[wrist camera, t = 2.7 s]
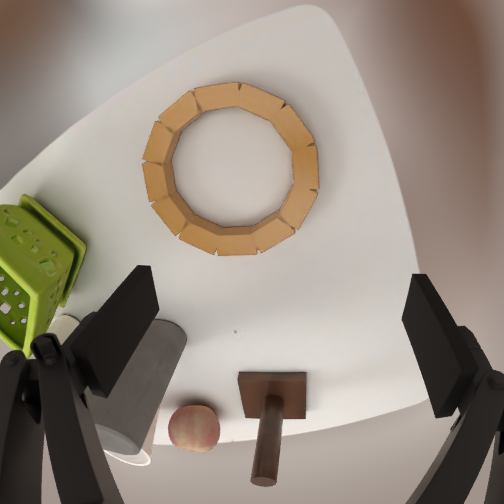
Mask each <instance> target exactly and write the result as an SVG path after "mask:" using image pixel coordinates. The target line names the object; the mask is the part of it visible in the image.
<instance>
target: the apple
mask: <svg viewBox="0 0 504 504" xmlns="http://www.w3.org/2000/svg"><path fill="white" fill-rule="evenodd" d="M168 433H169V437H170V440H171V442H172V443H173V444H174V445H175V446H176V447H178V448H181V449H185V450H188V451H191V452H198V453H205V452H208V451H210V450H211V449H213V448H214V447H215V446H216V444H217V442H218V440H219V436H220V425H219V421H218V419H217V416H216V415H215V413H214V412H213V411H212V410H211V409H210V408H208V407H206V406H200V405H192V406H185V407H182V408H179V409H177V410H176V411H175V412H174V413H173V415H172V417H171V419H170V421H169V425H168Z"/></svg>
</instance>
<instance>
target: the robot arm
mask: <svg viewBox="0 0 504 504" xmlns="http://www.w3.org/2000/svg"><path fill="white" fill-rule="evenodd" d="M158 311H159V305H158V301H157V296H156V291H155V286H154V281H153V276H152V271H151V266H145V265H137V266H136V268H135V269H134V270H133V271H132V272H131V273H130V274H129V275H128V277H127V278H126V279H125V280H124V281H123V282H122V283H121V285H120V286H119V287H118V288H117V289H116V290H115V292H114V293H113V294H112V295H111V296H110V297H109V299H108V300H107V301H106V302H105V303H104V305H103V306H102V307H101V308H100V309H99V311H98V312H94V311H93V312H92V313H90V314H89V315H87V316H86V317H84V318H83V320H82V321H81V322H80V323H79V326H77V327H76V328H75V329H74V331H73V332H72V333H71V334H70V335H69V336H68V338H67V339H66V340H65V341H64V343H63V344H62V345H61V344H60V342H59V340H58V338H57V335H55V334H54V333H43V334H41V335H38V336H37V337H36V338H34V339H33V341H32V342H31V344H30V349H31V351H32V353H33V354H34V356H35V358H36V359H27V358H26V356H25V354H24V352H23V351H21V350H13V351H10V352H8V353H7V354H6V355H5V356H4V357H3V359H2V360H1V363H0V504H41V482H42V459H43V445H44V433H45V434H46V440H47V445H48V451H49V455H50V460H51V465H52V470H53V474H54V478H55V482H56V486H57V490H58V494H59V497H60V501H61V504H124V502H123V499H122V497H121V495H120V493H119V490H118V488H117V485H116V483H115V480H114V478H113V476H112V473H111V470H110V468H109V465H108V463H107V460H106V457H105V454H104V451H103V449H102V446H101V443H100V440H99V437H98V434H97V431H96V427H95V424H94V421H93V418H92V414H91V411H90V407H89V404H88V400H87V396H86V395H85V393H84V391H85V389H86V388H87V386H88V387H89V389H90V391H91V393H92V395H95V396H99V397H103V398H108V396H109V395H110V393H111V391H112V389H113V388H114V386H115V384H116V382H117V381H118V379H119V377H120V375H121V374H122V372H123V370H124V368H125V367H126V365H127V363H128V362H129V360H130V358H131V356H132V355H133V353H134V351H135V350H136V348H137V346H138V345H139V343H140V341H141V340H142V338H143V336H144V335H145V333H146V331H147V330H148V328H149V326H150V325H151V323H152V321H153V320H154V318H155V316H156V315H157V313H158ZM402 322H403V324H404V327H405V329H406V332H407V335H408V337H409V340H410V343H411V345H412V348H413V351H414V354H415V356H416V359H417V362H418V365H419V368H420V371H421V374H422V377H423V380H424V383H425V386H426V389H427V392H428V395H429V398H430V402H431V405H432V408H433V411H434V415H435V418H442V417H448V416H452V415H453V413H454V412H455V410H456V408H457V407H458V409H459V412H460V415H459V417H458V418H457V420H456V421H455V423H454V424H453V426H452V427H451V429H450V430H451V432H450V434H449V436H448V437H447V439H446V441H445V443H444V445H443V446H442V448H441V450H440V452H439V454H438V455H437V457H436V458H435V460H434V462H433V463H432V465H431V466H430V468H429V470H428V471H427V473H426V475H425V476H424V477H423V479H422V481H421V482H420V484H419V485H418V487H417V488H416V490H415V491H414V492H413V494H412V495H411V497H410V498H409V500H408V501H407V502H406V504H464V502H465V500H466V498H467V496H468V494H469V492H470V490H471V488H472V486H473V484H474V482H475V480H476V478H477V476H478V474H479V472H480V469H481V467H482V465H483V463H484V460H485V458H486V456H487V453H488V451H489V448H490V446H491V443H492V441H493V438H494V435H495V443H494V451H493V459H492V465H491V471H490V477H489V482H488V487H487V492H486V497H485V501H484V504H504V374H503V373H501V372H499V371H496V370H493V369H492V367H491V365H490V363H489V361H488V359H487V357H486V356H485V354H484V352H483V350H482V349H481V347H480V345H479V343H478V342H477V340H476V338H475V336H474V334H473V333H472V332H471V331H470V330H469V329H468V328H467V327H466V326H457V325H456V323H455V321H454V319H453V318H452V316H451V314H450V313H449V311H448V309H447V307H446V306H445V304H444V302H443V301H442V299H441V297H440V296H439V294H438V292H437V291H436V289H435V288H434V286H433V284H432V283H431V281H430V280H429V278H428V276H427V275H426V274H412V278H411V283H410V287H409V291H408V296H407V300H406V304H405V308H404V312H403V316H402ZM495 433H496V434H495Z"/></svg>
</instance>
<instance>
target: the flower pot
mask: <svg viewBox="0 0 504 504" xmlns="http://www.w3.org/2000/svg"><path fill="white" fill-rule="evenodd" d="M85 252H86V245H85V244H84V243H83V242H82V241H81V240H80V239H79V238H78V237H77V236H75V235H74V234H73V233H72V232H71V231H70V230H69V229H67V228H66V227H65V226H64V225H63V224H62V223H61V222H59V221H58V220H57V219H56V218H55V217H54V216H52V215H51V214H50V213H49V212H48V211H47V210H46V209H44V208H43V207H42V206H41V205H40V204H39V203H38V202H36V201H35V200H34V199H33V198H31V197H30V196H28V195H26V194H23V195H22V196H21V198H20V201H19V205H18V206H15V205H0V277H4V280H3V281H0V306H1V305H2V304H3V303H6V304H7V305H8V306H10V307H11V309H10V311H9V312H8V313H7V314H4V313H3V312H2V311H1V310H0V338H1V339H2V340H3V341H4V342H5V343H6V344H7V345H8V346H9V347H10V348H12V349H13V350H21V351H23V352H24V354H25V356H26V358H27V359H29V358H30V357H31V355H32V354H33V353H32V351H31V349H30V344H31V342H32V341H33V339H34V338H36V337H37V336H38V335H41V334H43V333H46V332H47V330H48V328H49V326H50V324H51V321H52V319H53V317H54V314H55V312H56V309H57V307H58V305H59V306H61V307H64V306H65V304H66V302H67V299H68V297H69V294H70V292H71V289H72V287H73V284H74V281H75V279H76V276H77V274H78V271H79V269H80V266H81V263H82V260H83V258H84V255H85ZM4 289H7V290H8V293H7V294H6V295H5V296H3V295H2V294H1V292H2V291H3V290H4ZM16 291H18V292H19V294H18V295H17V296H16V295H14V293H15V292H16ZM19 304H23V305H24V306H25V307H24V308H19V306H18V305H19ZM22 319H27V321H26V323H21V320H22ZM11 322H15V324H11Z"/></svg>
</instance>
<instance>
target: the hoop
mask: <svg viewBox="0 0 504 504" xmlns="http://www.w3.org/2000/svg"><path fill="white" fill-rule="evenodd" d="M285 102H286V101H285V100H283V99H281V98H278V97H276V96H274V95H272V94H269V93H267V92H265V91H262V90H260V89H258V88H255V87H253V86H250V85H248V84H246V83H242V84H241V83H239V82H233V83H225V84H218V85H212V86H205V87H199V88H194V91H188V92H187V93H186V94H185V95H184V96H182V97H181V98H180V99H179V100H177V101H176V102H175V103H174V104H173V105H172V106H170V107H169V108H168V109H167V110H166V111H165V112H163V113H162V114H161V115H160V116H159V117H158V118H159V120H160V121H155V123H154V126H153V129H152V132H151V135H150V138H149V140H148V143H147V146H146V149H145V152H144V155H143V159H144V160H146V162H144V163H142V166H143V172H144V177H145V183H146V188H147V193H148V198H149V202H152V201H156V202H155V203H154V204H152V205H151V206H152V208H153V209H154V210H155V211H156V213H157V214H158V215H159V216H160V218H161V219H162V220H163V222H164V223H165V224H166V225H167V227H168V228H169V229H170V230H171V232H172V233H173V234H174V235H175V236H176V235H177V234H179V233H180V232H181V233H180V236H179V239H180V240H182V241H184V242H186V243H188V244H191V245H193V246H195V247H197V248H199V249H201V250H203V251H206V252H208V253H210V254H212V255H214V254H215V252H216V250H217V253H218V256H230V255H256V254H257V252H258V250H259V251H260V252H261V253H263V252H264V251H266V250H268V249H269V248H271V247H273V246H274V245H276V244H278V243H279V242H281V241H283V240H284V239H286V238H288V237H289V236H291V235H293V234H294V233H295V228H296V229H298V230H299V228H300V226H301V224H302V223H303V221H304V219H305V217H306V215H307V213H308V212H309V210H310V208H311V206H312V204H313V202H314V201H315V199H316V197H317V195H318V192H317V189H319V174H318V157H317V146H316V144H315V143H313V142H314V141H315V140H314V138H313V137H312V135H311V134H310V132H309V131H308V129H307V128H306V126H305V125H304V124H303V122H302V121H301V119H300V118H299V117H298V115H297V114H296V112H295V111H294V110H293V108H292V107H291V105H290V104H288V105H286V106H285V107H283V106H284V104H285ZM232 107H239V108H241V109H244V110H246V111H248V112H251V113H253V114H255V115H257V116H260V117H262V118H264V119H266V120H269V121H270V122H271V123H272V124H273V126H274V127H275V128H276V130H277V131H278V133H279V134H280V135H281V137H282V138H283V140H284V141H285V142H286V144H287V145H288V147H289V148H290V149H291V151H292V162H293V176H294V183H293V185H292V187H291V188H290V190H289V192H288V194H287V196H286V198H285V200H284V202H283V204H282V206H281V208H280V210H278V211H276V212H275V213H273V214H272V215H270V216H268V217H267V218H265V219H264V220H262V221H261V222H259V223H257V224H256V225H254V226H242V227H224V228H223V227H221V226H219V225H216V224H214V223H212V222H210V221H208V220H206V219H203V218H201V217H199V216H197V215H195V214H194V213H193V212H192V210H191V209H190V208H189V206H188V205H187V204H186V203H185V201H184V200H183V199H182V197H181V196H180V195H179V194H178V192H177V191H176V187H175V181H174V175H173V169H172V163H171V159H172V156H173V153H174V151H175V148H176V145H177V143H178V140H179V137H180V135H181V132H182V131H183V130H184V129H185V128H186V127H187V126H189V125H190V124H191V123H192V122H194V121H195V120H196V119H197V118H199V117H200V116H201V115H203V114H204V113H205V112H206V111H210V110H217V109H224V108H232Z"/></svg>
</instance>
